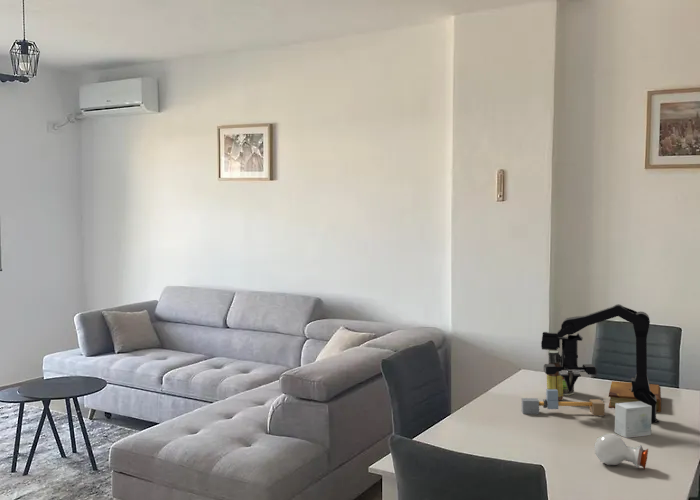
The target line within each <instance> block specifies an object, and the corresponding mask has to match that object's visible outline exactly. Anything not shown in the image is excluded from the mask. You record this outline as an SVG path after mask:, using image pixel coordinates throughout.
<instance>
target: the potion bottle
mask: <svg viewBox="0 0 700 500" xmlns="http://www.w3.org/2000/svg"><path fill="white" fill-rule="evenodd" d="M593 448H594V455H595V456H596V458H597V459H598V460H599V462H602V463H603V464H605V466H618V465H620V463H622V462H624V461H625V462H630V463H632V464H633V465H634V466H635V468H636V469H638V468H640V467H641V468H643V469H644V470H646V466H647V463H648V462H647V461H648V454H649V448H645V449H644V448H643V445H641V444H640V445H638V446H637V447H633V446H629V445H627V444H626V443H625V441H624V440H623V438H622V437H621V436H620V435H618V434H616V433H615V432H614V433H604V434H601V436H599V437H597V439H596V440H595V443H594V447H593Z"/></svg>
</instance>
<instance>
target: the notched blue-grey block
mask: <svg viewBox="0 0 700 500" xmlns="http://www.w3.org/2000/svg"><path fill="white" fill-rule="evenodd" d="M545 396H546V397H545V399H546V401H547V408H546V409H547V410H559V406H558V402H559V401H558V390H557V389H547V388H546V389H545Z"/></svg>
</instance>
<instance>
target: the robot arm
mask: <svg viewBox="0 0 700 500" xmlns="http://www.w3.org/2000/svg"><path fill="white" fill-rule="evenodd" d="M616 317H619V318H621V319H623V320H625V321H626V322H628V323H631V324H632V325H633V329H634V337H635V354H636V358H635V361H636V362H635V363H636V369H635V371H636V372H635V373H636V374H635V377H631V381H630V383H632V387H631V392H633V394H634V397H635V398H636V399H637V400H639V401H641V402H643V403H646V404H648V405H650V406H652V416H651V423H660V420H659V419H658V418H657V412H656V403H657V401H656V396H655V395H654V394H653V393H652V392H651V391H650V386H649V384H650V382H649V378H648V368H647V367H648V362H647V361H648V359H647V355H648V354H647V353H648V352H647V351H648V349H647V339H648V334H649V330H650V325H651V324H650V322H651V321H650V317H649V314H647V313H646V312H645V311H636V310H634V309H632V308H628V307H625V306H623V305H622V304H614V305H613V306H610V307H607V308H604V309H600V310H597V311H595V312H591V313H589V314H586V315H578V316H572V317H571V316H570V317H566V318H564V319H563V322H562V323H561V326H560V327H561V328H560V329H558V330H557V332H548V331H542V336H541V342H540V344H541V346H540V347H541V350H545V351H558V349H560V348H561V354H560V353H559V354H555V357H554V360H555V363H560V366H562V367H556V366H555V365H554V364H549V363H545V364H544V365H543V372H544V373H545V375H547V374H555V373H557V372H559V374H560V375H561V376H562V377H563V378H564V380H565V383H566V386H567V389H568V391H569V392H571V390H572V388H573V386H574V387H575V383H576V382H577V380H578V378H580V377H581V376H582V374H581V372H582V373H584V372H585V373H586V374H587V375H588V376H589V375H590V376H591V375H592V376H593V375H595V376H596V375H597V368H596V366H595V365H594V364H592V363H588V364H586V363H583V364H582V366H579V365H578V358H579V356H578V353H579V352H578V345H579V344H578V341H581V342H582V341H583V339H584V338H583V336H582V335H581V334H580V333H579V331H582V330H583V329H584V328H586V327H589V326H591V325H595V324H597V323H601V322H604V321H607V320H610V319H613V318H614V319H615V318H616ZM576 333H577V334H576ZM575 334H576V335H575ZM568 372H570V377H569V374H568Z"/></svg>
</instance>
